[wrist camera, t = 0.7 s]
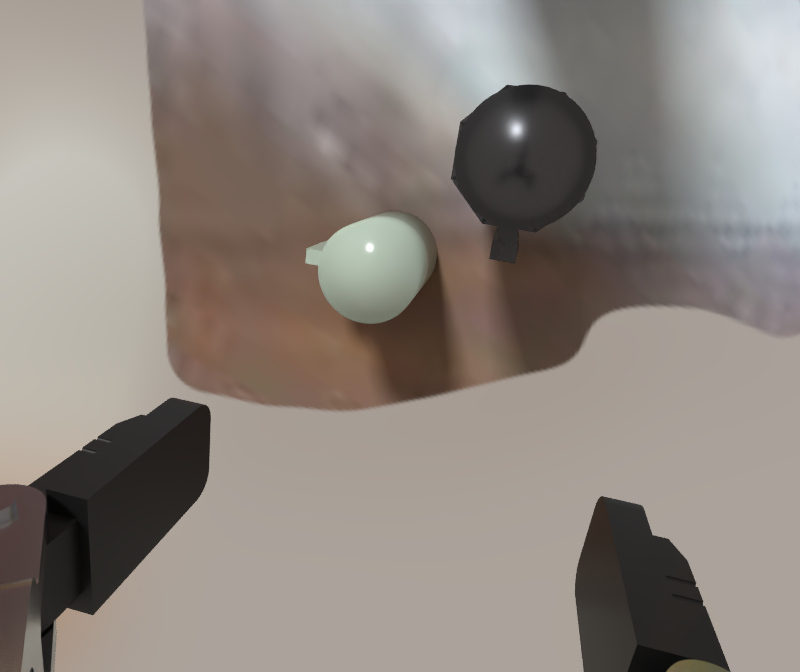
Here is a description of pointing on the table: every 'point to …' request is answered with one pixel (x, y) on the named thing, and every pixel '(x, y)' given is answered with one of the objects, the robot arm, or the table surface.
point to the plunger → (525, 157)
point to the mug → (375, 265)
